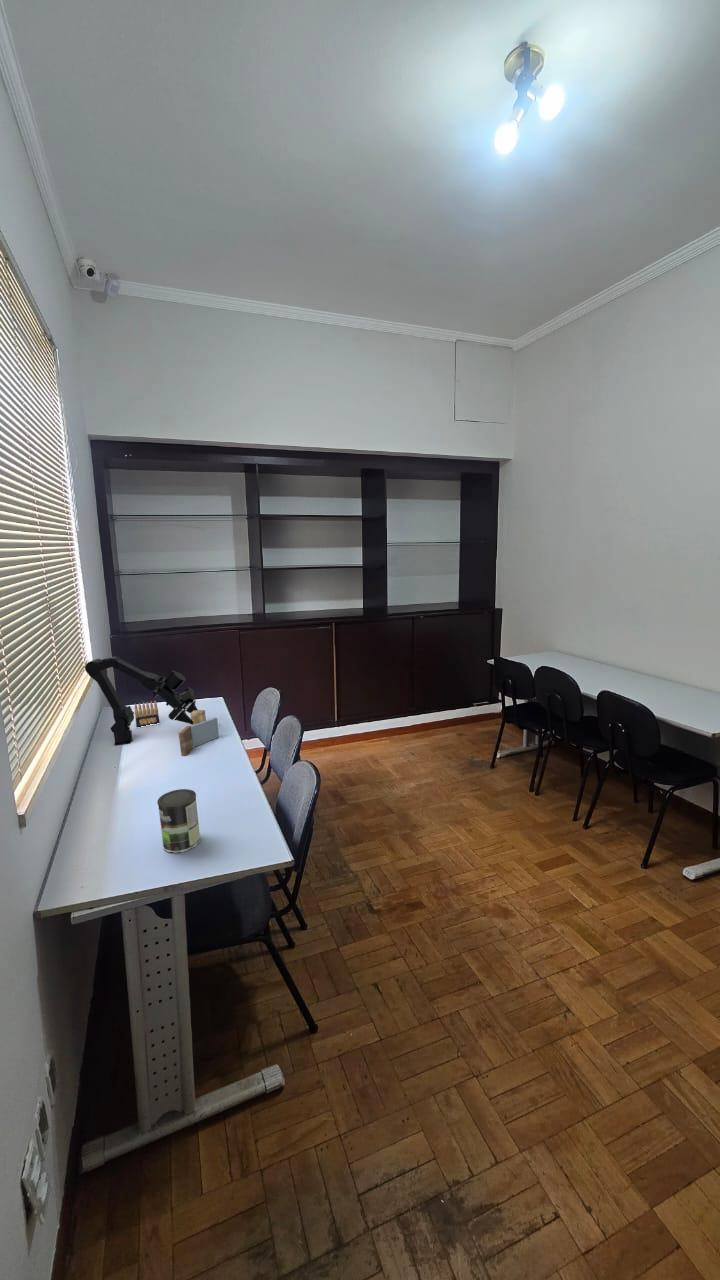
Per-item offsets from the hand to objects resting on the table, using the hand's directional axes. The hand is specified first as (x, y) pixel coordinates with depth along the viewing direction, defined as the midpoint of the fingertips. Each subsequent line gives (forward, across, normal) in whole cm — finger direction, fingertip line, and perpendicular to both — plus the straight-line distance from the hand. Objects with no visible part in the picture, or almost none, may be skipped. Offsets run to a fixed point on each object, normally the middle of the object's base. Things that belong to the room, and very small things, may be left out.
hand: (196, 720), depth 228 cm
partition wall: (+7, -16, +6) cm, 18 cm away
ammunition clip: (-16, +20, +29) cm, 39 cm away
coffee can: (+24, -83, -12) cm, 87 cm away
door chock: (+7, 0, +6) cm, 9 cm away
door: (+9, -5, +2) cm, 11 cm away
